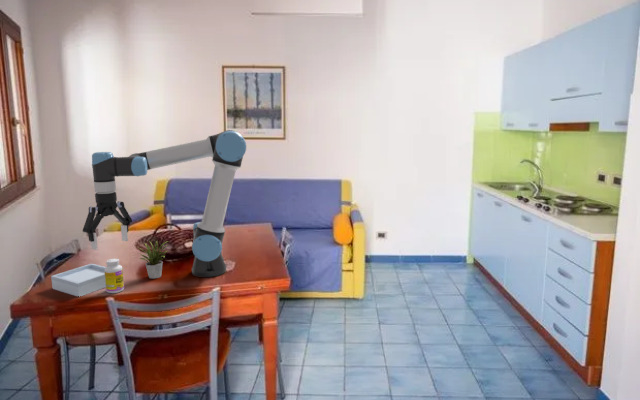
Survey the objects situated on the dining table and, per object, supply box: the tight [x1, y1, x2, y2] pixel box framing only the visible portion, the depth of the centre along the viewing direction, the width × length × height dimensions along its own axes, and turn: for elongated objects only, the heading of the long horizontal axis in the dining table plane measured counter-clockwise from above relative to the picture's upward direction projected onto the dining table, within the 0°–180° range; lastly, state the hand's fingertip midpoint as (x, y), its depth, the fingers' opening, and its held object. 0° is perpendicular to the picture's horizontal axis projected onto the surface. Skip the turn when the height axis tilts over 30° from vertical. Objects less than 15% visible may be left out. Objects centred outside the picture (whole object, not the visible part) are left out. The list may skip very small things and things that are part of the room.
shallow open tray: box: [50, 263, 107, 298], centre depth 190 cm, size 18×18×6 cm
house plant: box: [136, 240, 169, 279], centre depth 199 cm, size 14×14×16 cm
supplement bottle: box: [104, 258, 125, 294], centre depth 183 cm, size 7×7×13 cm
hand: (110, 244), depth 181 cm, fingers open, 13 cm apart
